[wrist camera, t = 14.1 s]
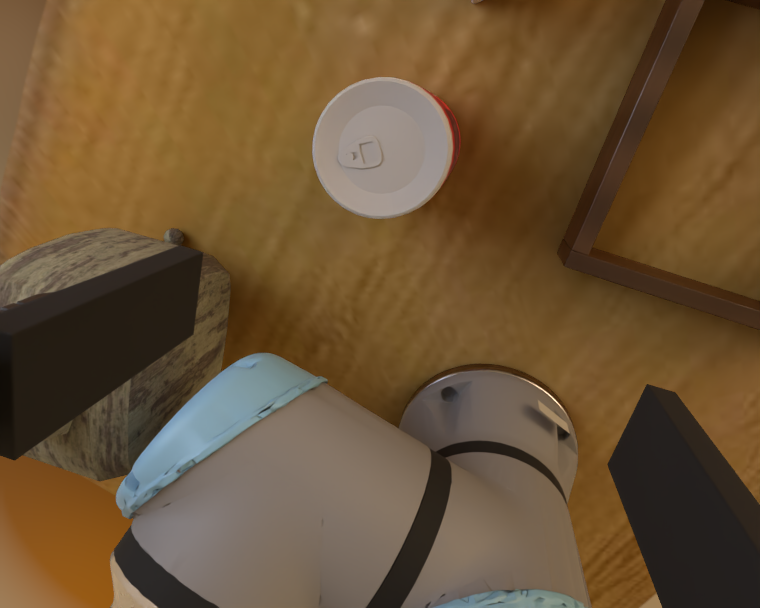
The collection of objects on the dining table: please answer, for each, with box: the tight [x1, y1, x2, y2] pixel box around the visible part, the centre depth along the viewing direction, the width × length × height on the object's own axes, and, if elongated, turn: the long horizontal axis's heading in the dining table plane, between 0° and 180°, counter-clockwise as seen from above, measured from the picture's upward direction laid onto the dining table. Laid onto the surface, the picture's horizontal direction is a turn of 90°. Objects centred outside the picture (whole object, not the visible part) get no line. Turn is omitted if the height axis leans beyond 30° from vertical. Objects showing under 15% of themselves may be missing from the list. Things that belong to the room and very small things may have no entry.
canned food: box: [312, 77, 461, 219], centre depth 33 cm, size 8×8×11 cm
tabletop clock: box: [0, 228, 231, 481], centre depth 35 cm, size 14×9×25 cm, turn 167°
